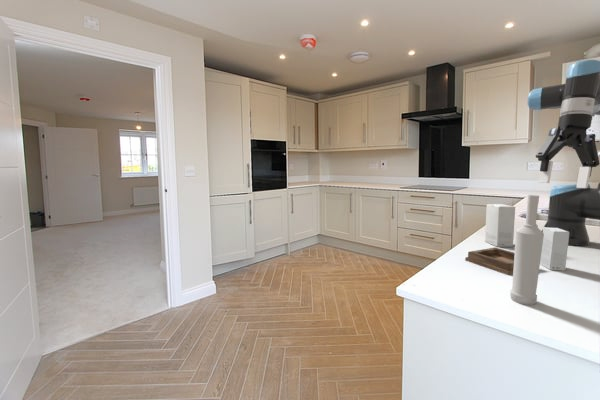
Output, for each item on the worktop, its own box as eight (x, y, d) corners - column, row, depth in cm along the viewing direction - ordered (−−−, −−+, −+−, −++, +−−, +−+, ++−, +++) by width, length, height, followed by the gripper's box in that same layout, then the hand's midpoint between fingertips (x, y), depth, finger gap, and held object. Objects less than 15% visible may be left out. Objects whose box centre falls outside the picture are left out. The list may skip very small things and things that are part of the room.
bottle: (512, 293, 77) (522, 193, 74) (538, 300, 73) (549, 195, 70) (507, 300, 73) (517, 195, 70) (534, 307, 70) (546, 197, 66)
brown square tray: (493, 255, 107) (494, 246, 107) (538, 268, 95) (539, 258, 94) (465, 260, 102) (465, 251, 102) (507, 274, 89) (508, 264, 89)
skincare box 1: (513, 247, 117) (517, 206, 115) (495, 247, 117) (499, 206, 115) (499, 241, 126) (502, 203, 124) (483, 241, 126) (486, 203, 124)
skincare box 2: (565, 271, 92) (570, 231, 91) (549, 270, 93) (553, 231, 92) (553, 264, 98) (557, 227, 97) (538, 263, 99) (542, 226, 98)
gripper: (552, 106, 87) (539, 181, 89) (624, 119, 91) (610, 190, 93) (529, 111, 95) (517, 180, 96) (596, 123, 99) (584, 189, 100)
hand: (563, 185), depth 95 cm, fingers open, 13 cm apart
